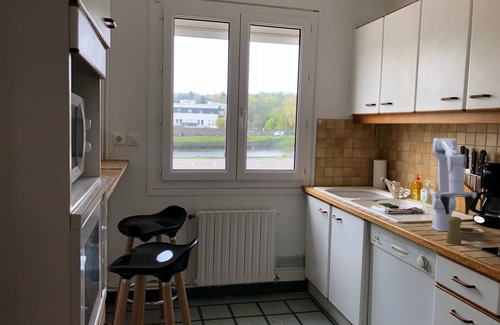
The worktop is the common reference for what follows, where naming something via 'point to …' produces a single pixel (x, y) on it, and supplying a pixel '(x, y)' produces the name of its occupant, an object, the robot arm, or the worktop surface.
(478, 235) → the holder
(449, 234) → the cork
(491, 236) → the worktop surface
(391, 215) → the worktop surface
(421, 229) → the worktop surface
